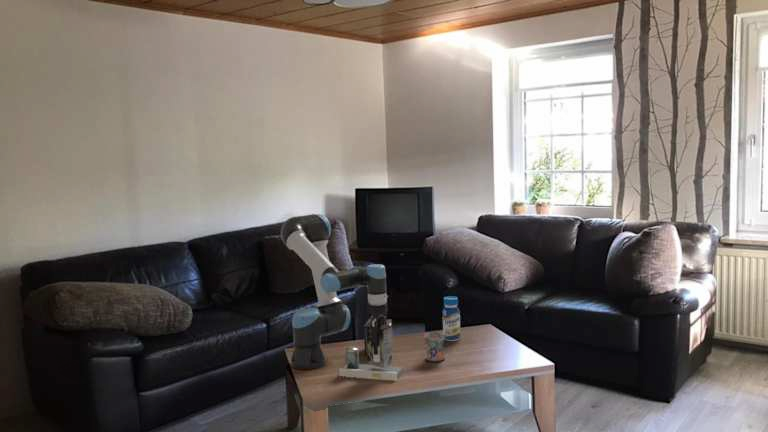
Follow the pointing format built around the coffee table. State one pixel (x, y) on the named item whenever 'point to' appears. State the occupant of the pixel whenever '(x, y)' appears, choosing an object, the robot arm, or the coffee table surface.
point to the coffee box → (381, 346)
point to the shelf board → (372, 372)
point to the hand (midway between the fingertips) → (380, 358)
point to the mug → (434, 346)
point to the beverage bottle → (451, 319)
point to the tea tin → (352, 357)
